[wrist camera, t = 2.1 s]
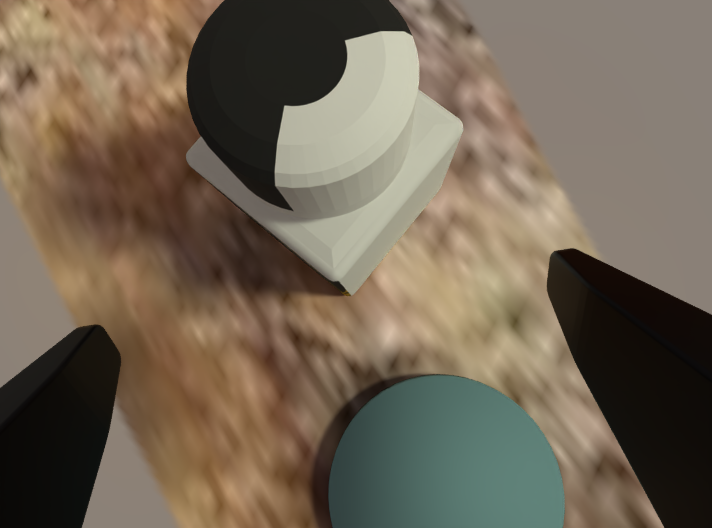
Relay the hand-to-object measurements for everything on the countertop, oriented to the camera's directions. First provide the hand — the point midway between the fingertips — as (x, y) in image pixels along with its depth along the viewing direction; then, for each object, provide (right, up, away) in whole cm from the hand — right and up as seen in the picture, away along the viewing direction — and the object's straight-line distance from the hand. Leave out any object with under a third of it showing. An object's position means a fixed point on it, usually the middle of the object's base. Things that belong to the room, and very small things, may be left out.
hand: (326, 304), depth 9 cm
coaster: (+4, -9, +12) cm, 15 cm away
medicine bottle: (0, +4, +14) cm, 15 cm away
